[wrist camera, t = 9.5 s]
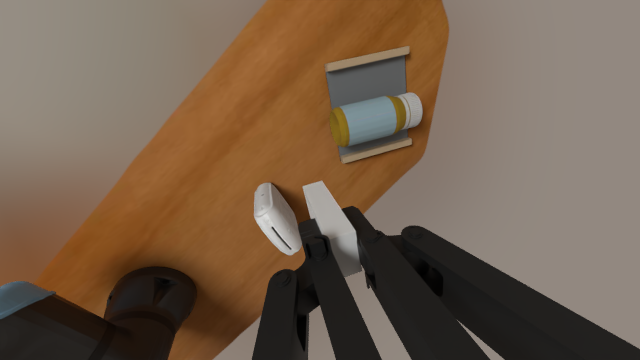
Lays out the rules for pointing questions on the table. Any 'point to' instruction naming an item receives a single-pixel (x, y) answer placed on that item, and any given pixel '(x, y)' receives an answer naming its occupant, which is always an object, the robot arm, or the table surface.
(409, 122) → the bottle
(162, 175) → the table surface
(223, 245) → the table surface
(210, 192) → the table surface
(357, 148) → the grey tray
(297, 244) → the photo printer
